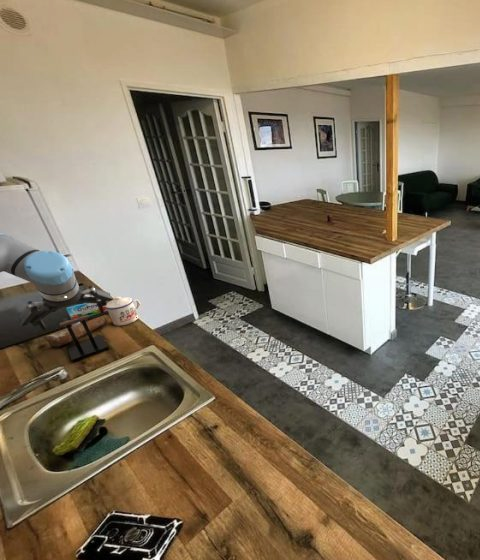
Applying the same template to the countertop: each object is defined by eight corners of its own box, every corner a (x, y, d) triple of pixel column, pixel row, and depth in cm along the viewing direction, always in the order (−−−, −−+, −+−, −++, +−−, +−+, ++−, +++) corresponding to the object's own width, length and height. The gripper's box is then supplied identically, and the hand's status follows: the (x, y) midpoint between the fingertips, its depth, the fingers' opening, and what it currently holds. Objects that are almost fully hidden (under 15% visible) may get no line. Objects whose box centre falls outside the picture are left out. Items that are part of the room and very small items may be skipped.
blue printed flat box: (107, 309, 143) (102, 297, 140) (107, 310, 142) (102, 299, 139) (71, 320, 134) (65, 307, 132) (72, 321, 133) (66, 309, 131)
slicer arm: (89, 319, 106) (86, 313, 106) (61, 328, 101) (58, 321, 101) (89, 321, 115) (86, 315, 115) (63, 329, 110) (60, 323, 110)
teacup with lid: (123, 327, 130) (112, 303, 125) (107, 324, 132) (96, 300, 127) (150, 313, 140) (142, 291, 135) (135, 310, 142) (127, 288, 137)
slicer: (109, 349, 117) (94, 318, 111) (73, 362, 110) (56, 330, 104) (101, 337, 124) (87, 307, 118) (67, 348, 117) (51, 317, 111)
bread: (47, 347, 117) (41, 335, 115) (102, 321, 134) (97, 310, 131) (59, 350, 115) (52, 338, 113) (113, 324, 132) (108, 312, 130)
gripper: (-5, 320, 75) (20, 345, 90) (123, 286, 92) (126, 312, 107) (-17, 294, 76) (10, 323, 91) (112, 265, 93) (117, 293, 108)
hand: (73, 317), depth 99 cm, fingers open, 13 cm apart
